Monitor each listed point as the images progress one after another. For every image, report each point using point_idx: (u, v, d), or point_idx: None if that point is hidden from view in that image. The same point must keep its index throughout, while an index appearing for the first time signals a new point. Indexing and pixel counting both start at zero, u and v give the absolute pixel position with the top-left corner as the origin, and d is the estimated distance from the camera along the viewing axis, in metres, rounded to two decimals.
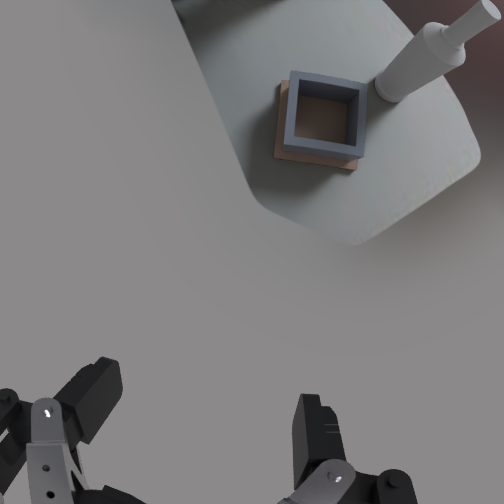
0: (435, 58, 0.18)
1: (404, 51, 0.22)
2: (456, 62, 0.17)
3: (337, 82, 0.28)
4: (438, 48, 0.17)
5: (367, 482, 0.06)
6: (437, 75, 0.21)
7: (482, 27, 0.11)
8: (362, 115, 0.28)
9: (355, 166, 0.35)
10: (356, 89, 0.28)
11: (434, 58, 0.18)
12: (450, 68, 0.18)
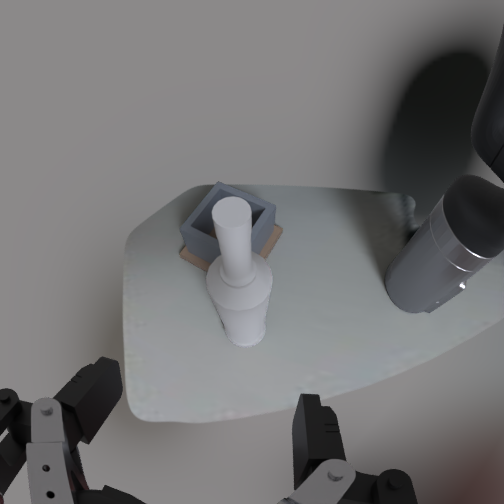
0: None
1: None
2: (209, 274, 0.22)
3: (251, 234, 0.35)
4: None
5: (367, 482, 0.06)
6: None
7: None
8: (213, 241, 0.35)
9: (182, 254, 0.41)
10: None
11: None
12: None
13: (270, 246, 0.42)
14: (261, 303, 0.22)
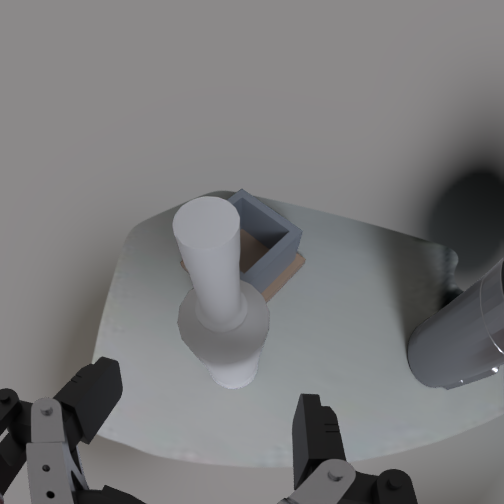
0: None
1: None
2: (185, 303, 0.16)
3: (265, 259, 0.29)
4: None
5: (367, 482, 0.06)
6: None
7: None
8: None
9: (183, 263, 0.35)
10: None
11: None
12: None
13: (286, 277, 0.35)
14: (244, 358, 0.15)
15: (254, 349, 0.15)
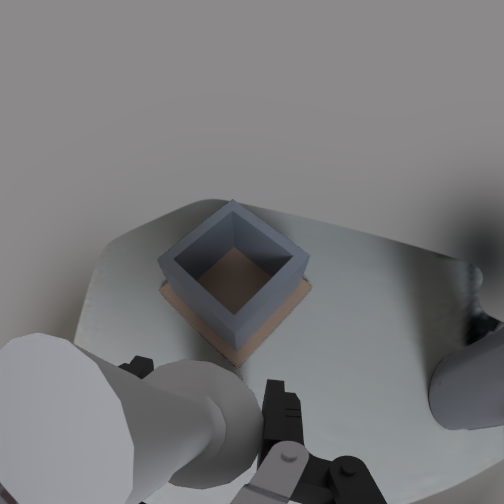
0: None
1: None
2: None
3: (262, 294, 0.22)
4: (184, 371, 0.09)
5: (323, 467, 0.07)
6: None
7: None
8: (199, 292, 0.22)
9: (163, 291, 0.28)
10: None
11: None
12: None
13: (288, 309, 0.28)
14: None
15: (239, 473, 0.08)
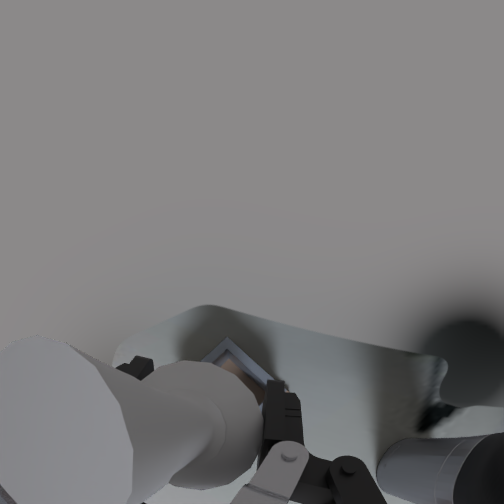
0: None
1: None
2: None
3: None
4: (184, 372, 0.09)
5: (323, 467, 0.07)
6: None
7: None
8: None
9: None
10: None
11: None
12: None
13: None
14: None
15: (239, 474, 0.08)
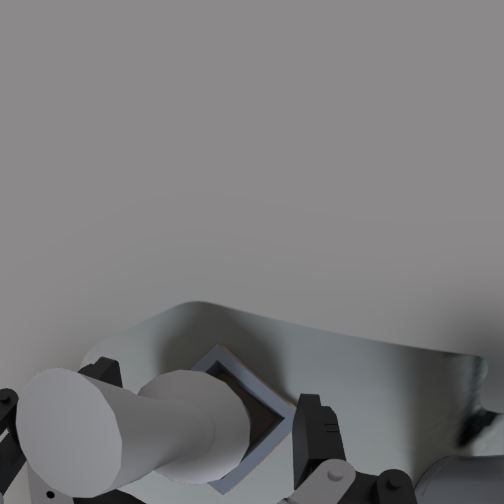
0: None
1: None
2: None
3: (249, 460, 0.17)
4: (179, 380, 0.11)
5: (367, 482, 0.06)
6: None
7: None
8: None
9: None
10: (225, 476, 0.17)
11: None
12: None
13: (279, 440, 0.23)
14: None
15: (228, 471, 0.09)
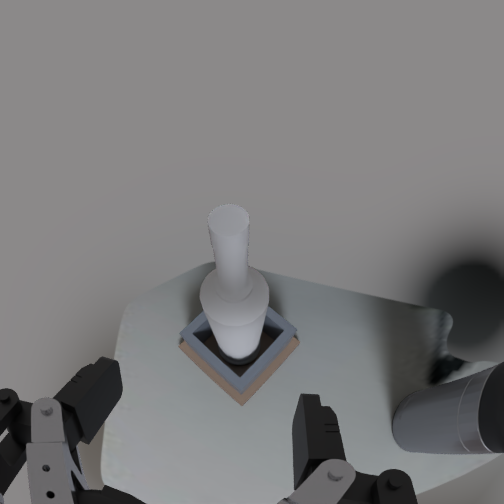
0: None
1: None
2: (205, 282, 0.21)
3: (260, 362, 0.29)
4: None
5: (367, 482, 0.06)
6: None
7: None
8: (214, 360, 0.28)
9: (181, 347, 0.35)
10: (242, 376, 0.28)
11: None
12: None
13: (281, 361, 0.34)
14: (250, 323, 0.20)
15: (258, 315, 0.20)
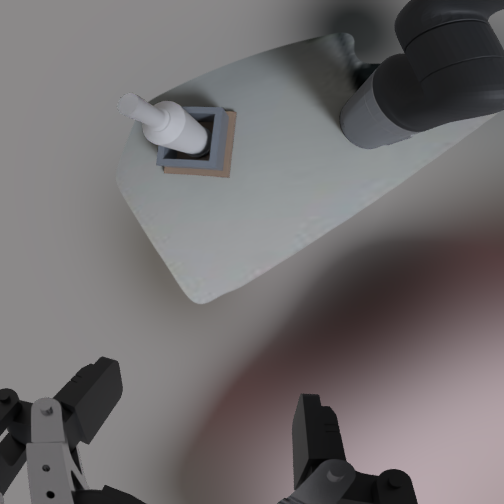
0: None
1: None
2: (144, 130, 0.28)
3: (214, 142, 0.39)
4: None
5: (367, 482, 0.06)
6: None
7: None
8: (187, 163, 0.39)
9: (166, 171, 0.46)
10: (210, 158, 0.39)
11: None
12: None
13: (232, 132, 0.44)
14: (183, 130, 0.29)
15: (184, 123, 0.28)
